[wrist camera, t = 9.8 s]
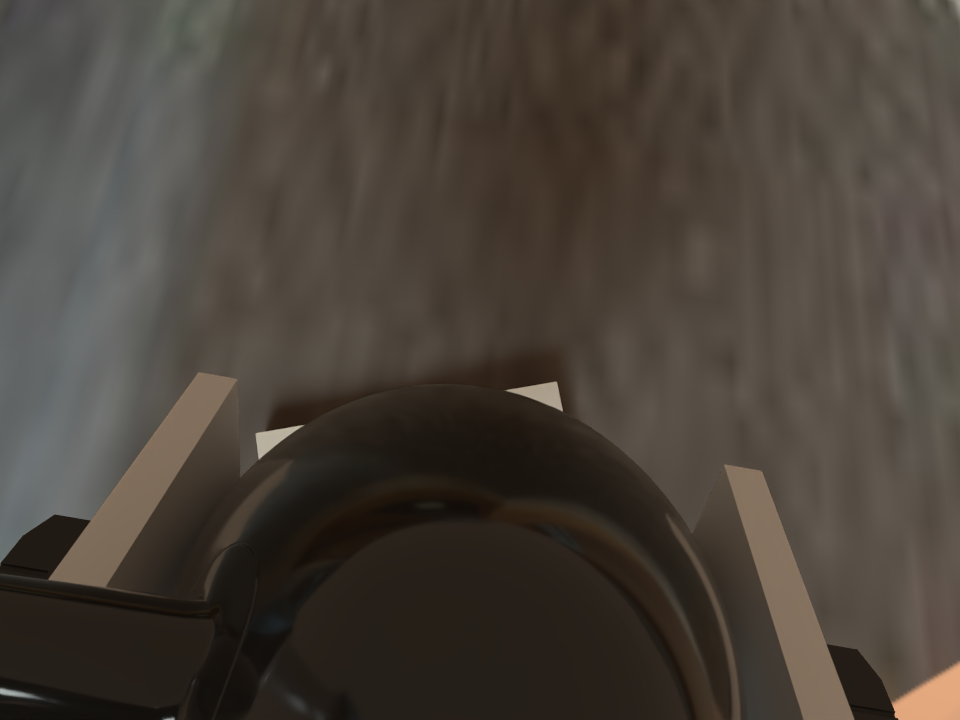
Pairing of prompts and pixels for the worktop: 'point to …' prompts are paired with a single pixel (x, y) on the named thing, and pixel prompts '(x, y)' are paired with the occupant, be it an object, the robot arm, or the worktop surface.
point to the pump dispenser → (402, 586)
